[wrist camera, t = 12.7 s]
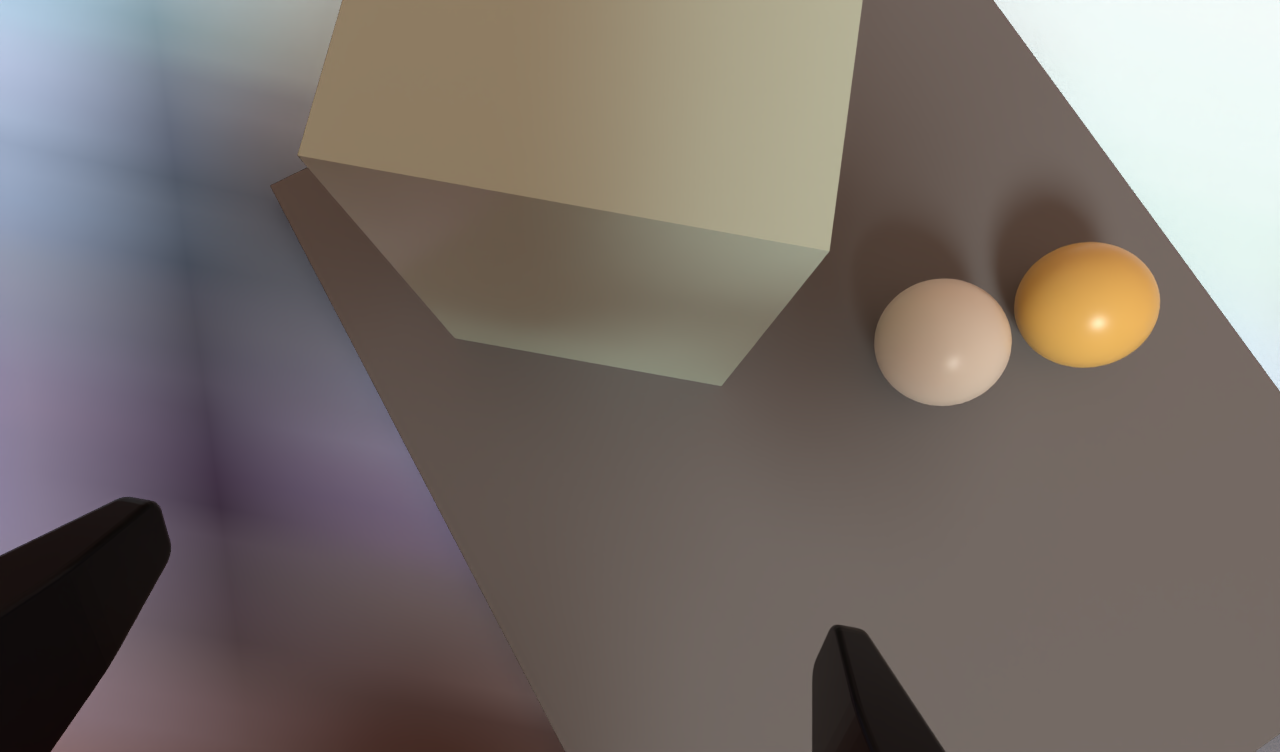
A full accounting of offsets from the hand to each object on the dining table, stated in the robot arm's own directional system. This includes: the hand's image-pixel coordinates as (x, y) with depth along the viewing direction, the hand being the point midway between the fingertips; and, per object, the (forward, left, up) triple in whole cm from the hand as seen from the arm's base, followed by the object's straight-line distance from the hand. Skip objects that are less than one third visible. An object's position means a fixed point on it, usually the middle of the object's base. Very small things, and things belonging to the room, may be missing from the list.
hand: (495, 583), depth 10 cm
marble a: (0, -10, -6) cm, 12 cm away
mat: (0, -8, -9) cm, 12 cm away
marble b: (-1, -14, -7) cm, 16 cm away
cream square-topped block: (+6, -5, -8) cm, 12 cm away
